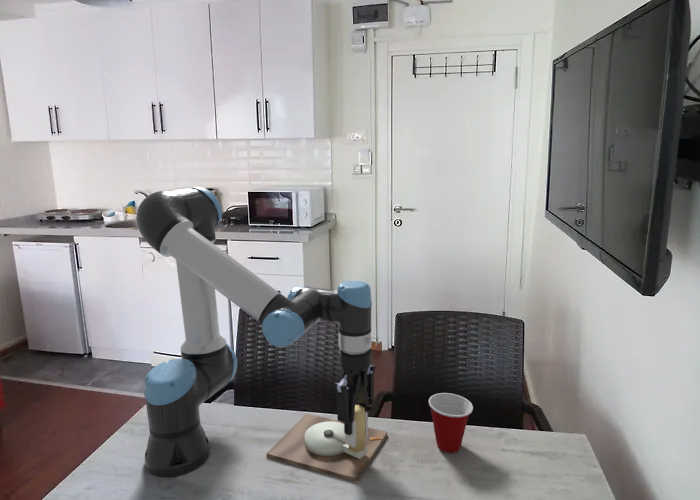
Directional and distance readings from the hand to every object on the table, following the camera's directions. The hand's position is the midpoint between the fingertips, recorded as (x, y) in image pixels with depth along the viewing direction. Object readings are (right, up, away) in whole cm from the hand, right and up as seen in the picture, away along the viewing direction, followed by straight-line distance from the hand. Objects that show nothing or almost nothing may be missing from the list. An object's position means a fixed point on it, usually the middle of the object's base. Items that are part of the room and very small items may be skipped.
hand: (356, 439), depth 121 cm
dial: (-5, -3, +5) cm, 8 cm away
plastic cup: (+23, -4, +5) cm, 24 cm away
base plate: (-7, -4, +7) cm, 10 cm away
